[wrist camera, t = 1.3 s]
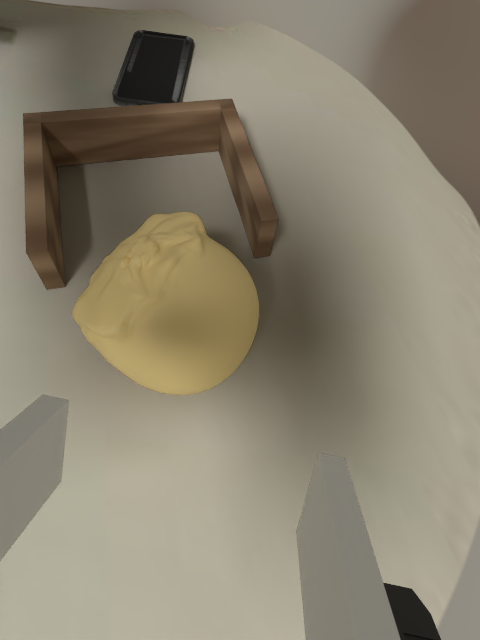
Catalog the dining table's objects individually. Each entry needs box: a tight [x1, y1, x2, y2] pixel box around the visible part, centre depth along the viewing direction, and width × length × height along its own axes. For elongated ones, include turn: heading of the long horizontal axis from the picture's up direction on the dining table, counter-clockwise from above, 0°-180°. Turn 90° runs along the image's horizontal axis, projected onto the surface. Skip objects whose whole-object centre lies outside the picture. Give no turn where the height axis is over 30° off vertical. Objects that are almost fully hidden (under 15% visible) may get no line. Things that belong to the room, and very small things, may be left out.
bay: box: [23, 99, 279, 289], centre depth 39 cm, size 16×20×5 cm
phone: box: [112, 30, 193, 106], centre depth 52 cm, size 8×1×15 cm
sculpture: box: [72, 212, 259, 395], centre depth 30 cm, size 11×12×11 cm
